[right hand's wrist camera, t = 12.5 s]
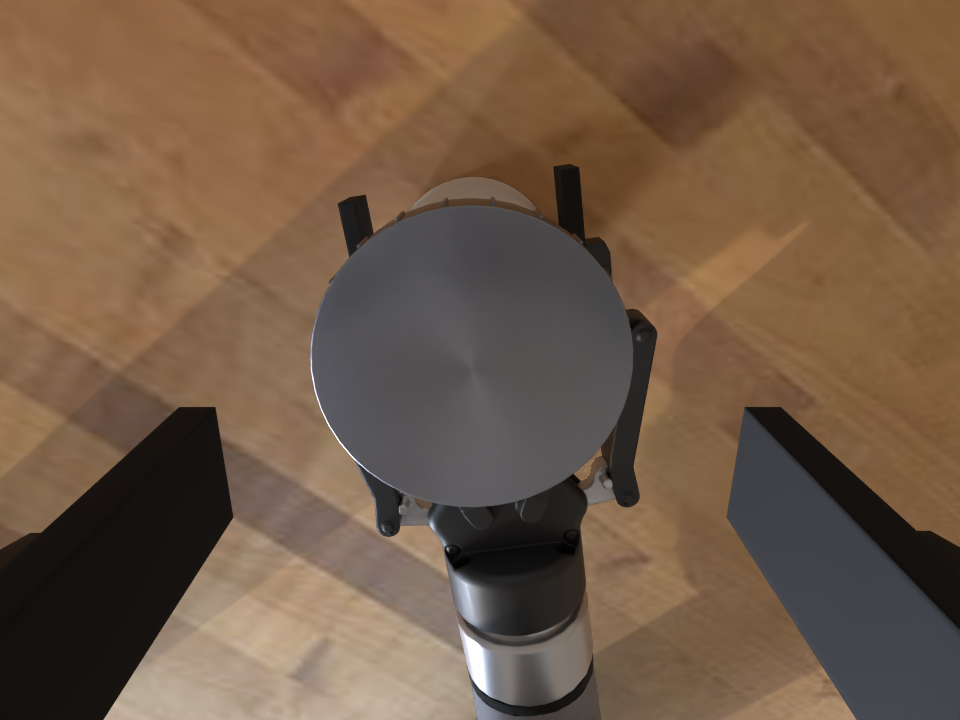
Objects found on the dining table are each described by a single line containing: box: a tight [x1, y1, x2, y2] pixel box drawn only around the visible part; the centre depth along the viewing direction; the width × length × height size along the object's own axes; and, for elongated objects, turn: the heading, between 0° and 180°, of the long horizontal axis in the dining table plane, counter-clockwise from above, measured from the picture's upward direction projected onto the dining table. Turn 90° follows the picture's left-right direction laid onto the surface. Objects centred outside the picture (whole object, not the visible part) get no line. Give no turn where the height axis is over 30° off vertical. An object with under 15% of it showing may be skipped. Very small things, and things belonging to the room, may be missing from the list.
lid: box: [311, 197, 633, 507], centre depth 19 cm, size 10×10×2 cm
